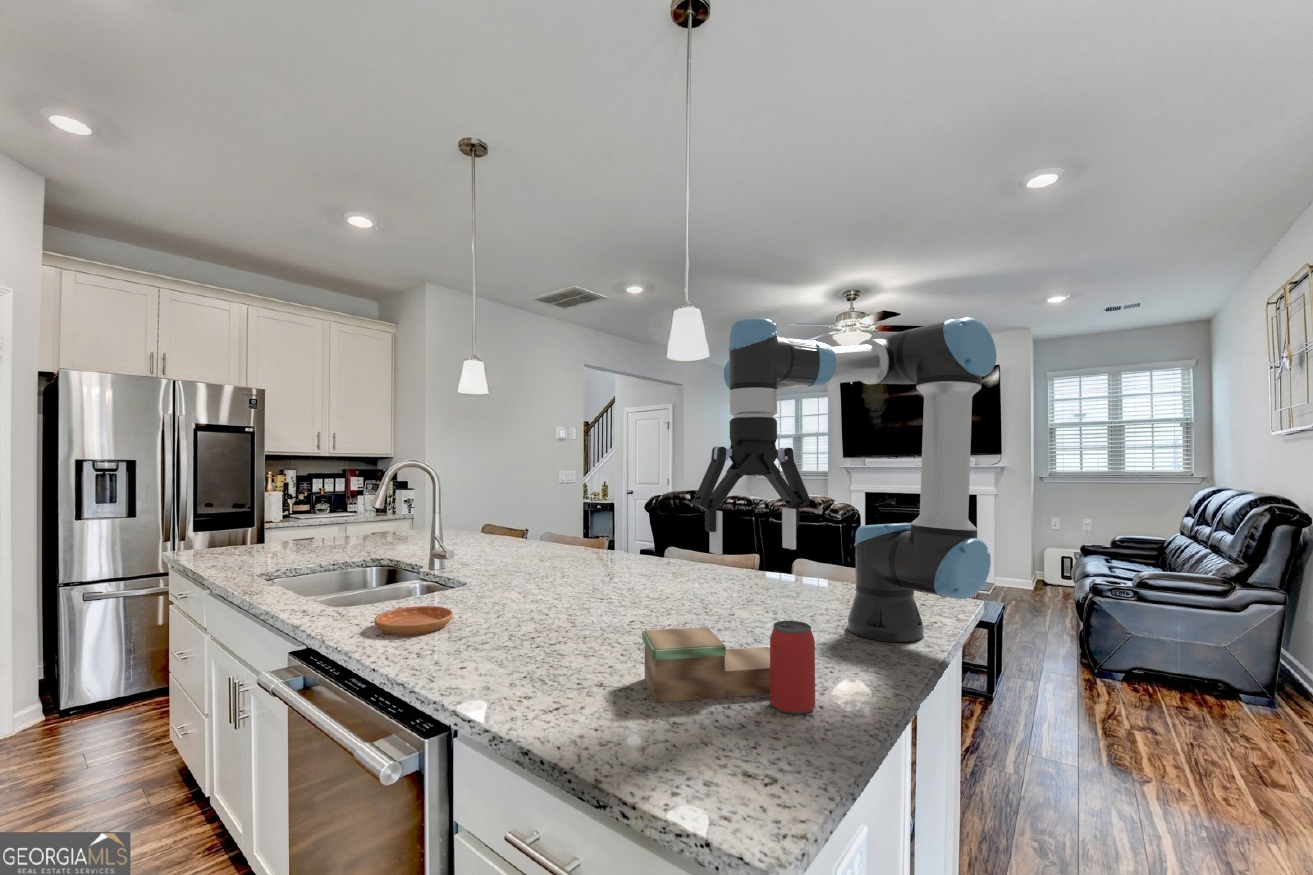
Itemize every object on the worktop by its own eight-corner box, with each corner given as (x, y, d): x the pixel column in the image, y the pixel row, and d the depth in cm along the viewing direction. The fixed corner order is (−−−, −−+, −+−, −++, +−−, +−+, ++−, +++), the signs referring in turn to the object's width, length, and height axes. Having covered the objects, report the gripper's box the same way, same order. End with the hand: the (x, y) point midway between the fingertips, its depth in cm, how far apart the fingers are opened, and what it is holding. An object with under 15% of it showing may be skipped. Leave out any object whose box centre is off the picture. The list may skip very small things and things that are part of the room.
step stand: (768, 670, 103) (768, 623, 103) (792, 693, 93) (792, 642, 93) (642, 678, 99) (642, 630, 99) (652, 704, 88) (653, 650, 89)
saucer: (466, 620, 135) (466, 607, 135) (424, 641, 119) (424, 627, 119) (405, 616, 138) (405, 603, 139) (356, 636, 123) (357, 622, 123)
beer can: (786, 694, 92) (785, 617, 93) (823, 706, 88) (823, 625, 88) (761, 706, 88) (761, 625, 88) (800, 720, 83) (799, 634, 83)
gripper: (802, 420, 102) (803, 543, 101) (672, 416, 92) (672, 551, 91) (831, 418, 95) (832, 549, 94) (694, 412, 85) (693, 559, 85)
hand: (753, 551), depth 93 cm, fingers open, 13 cm apart
